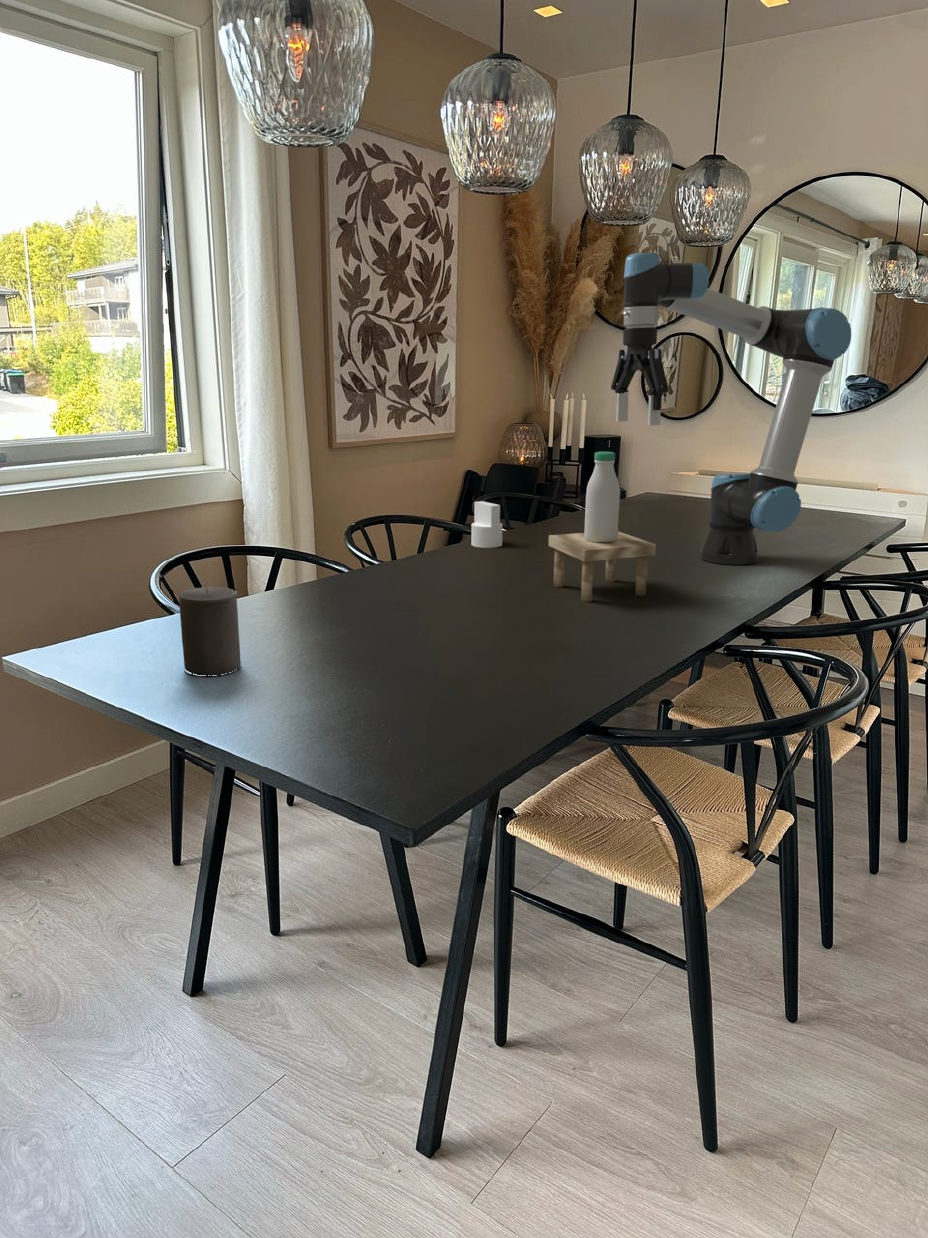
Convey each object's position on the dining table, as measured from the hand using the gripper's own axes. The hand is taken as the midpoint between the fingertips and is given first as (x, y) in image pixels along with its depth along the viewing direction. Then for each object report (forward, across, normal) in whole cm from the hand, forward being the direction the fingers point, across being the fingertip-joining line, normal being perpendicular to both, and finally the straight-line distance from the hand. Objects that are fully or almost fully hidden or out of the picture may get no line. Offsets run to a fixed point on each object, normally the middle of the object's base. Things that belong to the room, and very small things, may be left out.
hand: (637, 423), depth 206 cm
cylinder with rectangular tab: (+37, -53, -16) cm, 67 cm away
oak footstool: (+37, +5, -13) cm, 40 cm away
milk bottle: (+26, +5, -12) cm, 29 cm away
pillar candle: (+35, +27, -103) cm, 112 cm away
